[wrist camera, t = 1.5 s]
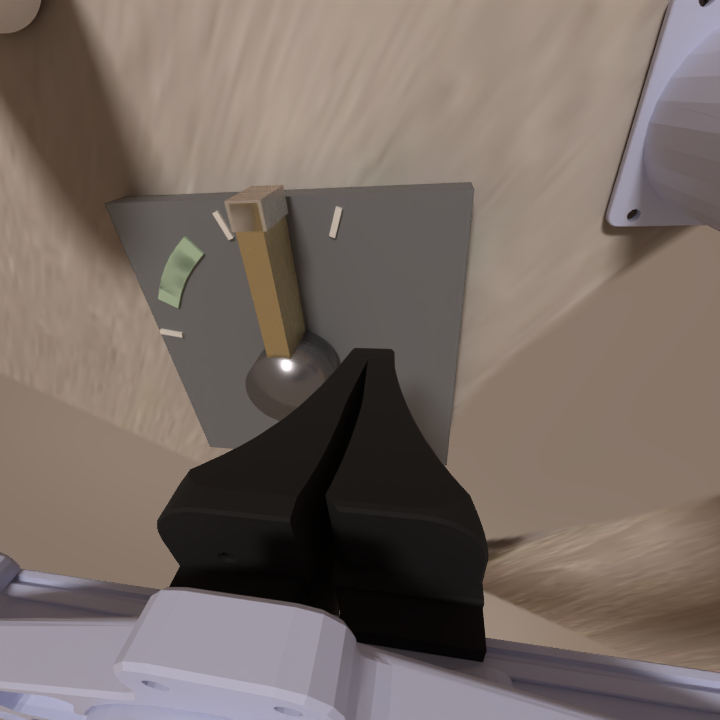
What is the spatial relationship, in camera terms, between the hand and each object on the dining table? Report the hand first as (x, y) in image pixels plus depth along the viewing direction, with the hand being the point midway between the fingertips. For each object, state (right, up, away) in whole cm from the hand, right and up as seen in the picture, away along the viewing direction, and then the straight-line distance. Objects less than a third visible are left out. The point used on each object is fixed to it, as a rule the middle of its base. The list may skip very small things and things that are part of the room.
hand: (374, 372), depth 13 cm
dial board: (-4, +2, +11) cm, 12 cm away
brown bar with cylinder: (-4, +3, +8) cm, 9 cm away
